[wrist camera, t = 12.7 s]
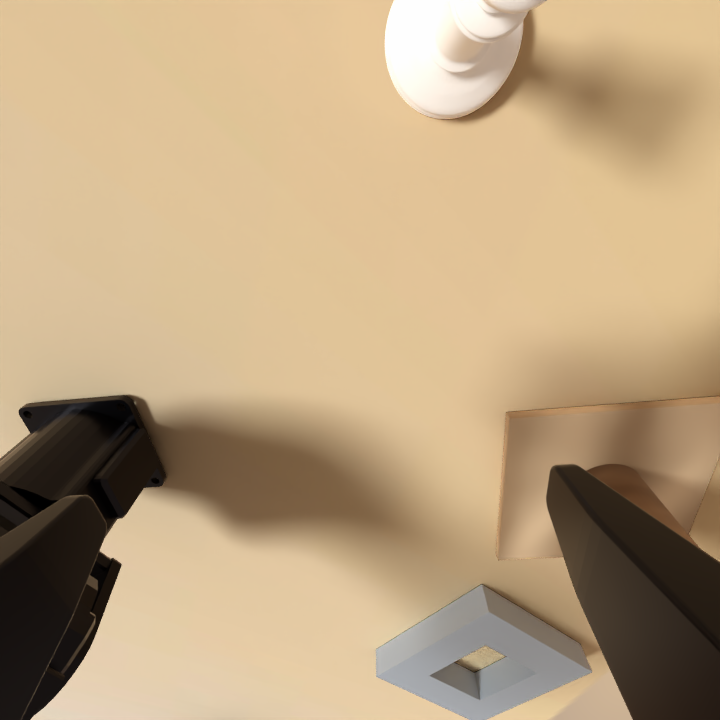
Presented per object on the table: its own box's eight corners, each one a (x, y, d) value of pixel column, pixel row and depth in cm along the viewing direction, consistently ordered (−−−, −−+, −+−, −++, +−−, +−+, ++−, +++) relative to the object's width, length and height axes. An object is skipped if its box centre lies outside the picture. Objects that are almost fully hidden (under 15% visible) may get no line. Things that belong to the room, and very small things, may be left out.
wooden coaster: (495, 552, 28) (498, 560, 27) (506, 412, 22) (509, 418, 22) (675, 543, 27) (681, 551, 27) (732, 395, 22) (741, 401, 21)
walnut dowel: (585, 526, 26) (760, 832, 14) (552, 488, 24) (716, 794, 13) (653, 494, 24) (907, 805, 13) (622, 451, 23) (878, 760, 11)
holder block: (375, 649, 34) (376, 676, 32) (481, 584, 30) (488, 611, 28) (472, 696, 38) (477, 723, 36) (580, 644, 33) (592, 672, 31)
